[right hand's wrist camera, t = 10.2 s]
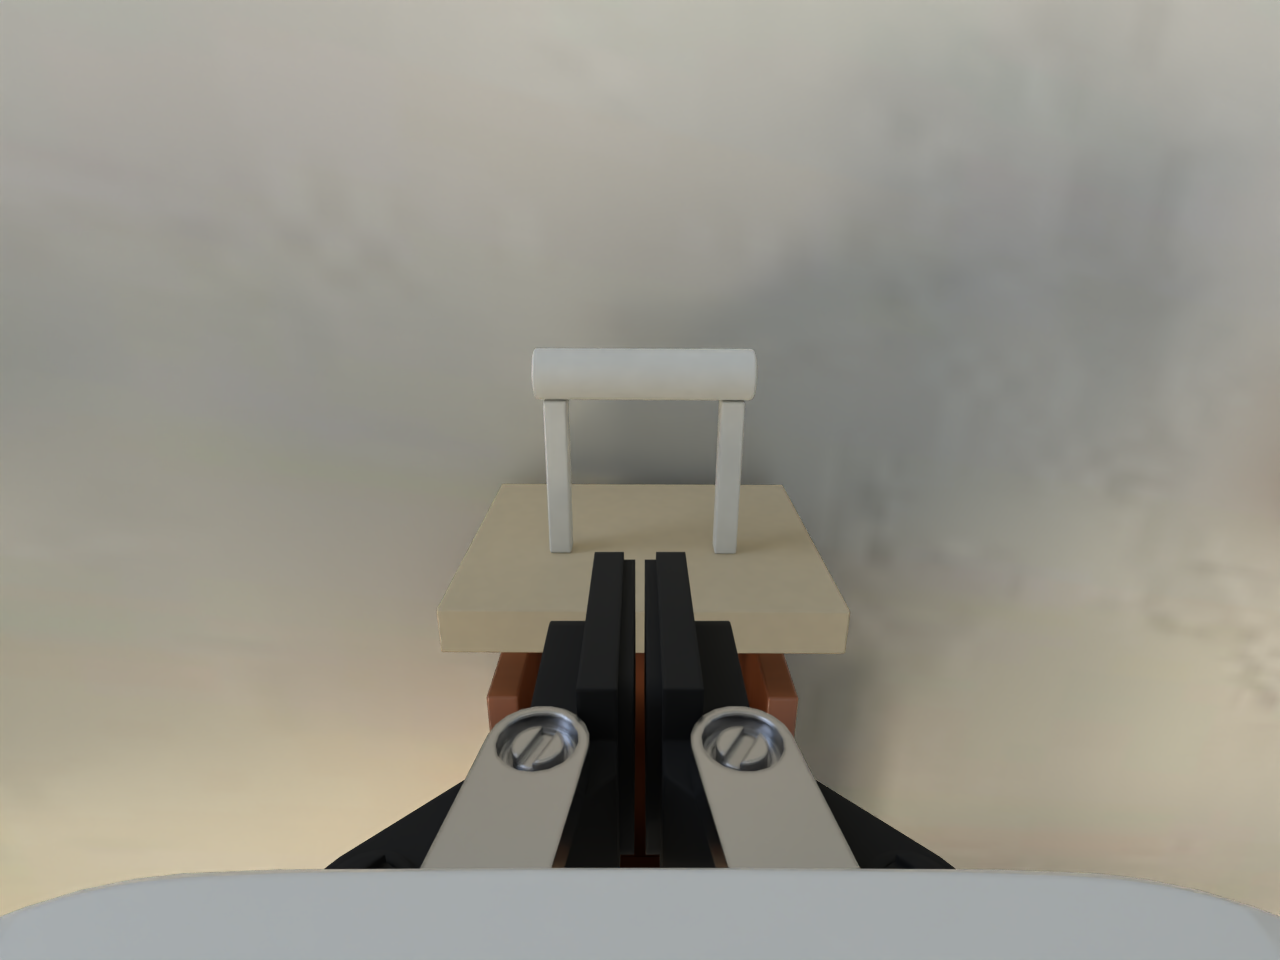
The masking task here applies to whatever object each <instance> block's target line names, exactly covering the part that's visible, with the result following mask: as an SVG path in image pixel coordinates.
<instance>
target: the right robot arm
mask: <svg viewBox="0 0 1280 960" xmlns="http://www.w3.org/2000/svg"><path fill="white" fill-rule="evenodd" d="M635 715H636V614H635V559H624V552H595V553H594V560H593V568H592V575H591V583H590V590H589V597H588V605H587V612H586V619H585V621H551V622H550V623H549V627H548V631H547V635H546V640H545V644H544V649H543V653H542V658H541V662H540V667H539V671H538V675H537V680H536V684H535V689H534V693H533V698H532V702H531V707H530V708H526V709H521V710H519V711H517V712H514V713H512V714H510V715H508V716H506V717H505V718H503V719H502V720H501V721H499V722H498V723H497V724H495V726H494V727H493V728H492V730H491V731H490V733H489V734H488V735H487V737H486V739H485V741H484V743H483V745H482V747H481V749H480V751H479V753H478V755H477V757H476V759H475V761H474V763H473V765H472V767H471V769H470V771H469V773H468V775H467V777H466V779H465V780H464V781H462V782H460V783H459V784H457V785H456V786H454V787H452V788H451V789H449V790H447V791H446V792H444V793H443V794H441V795H439V796H438V797H436V798H434V799H433V800H431V801H430V802H428V803H426V804H425V805H423V806H422V807H420V808H418V809H417V810H415V811H413V812H412V813H410V814H409V815H407V816H405V817H404V818H402V819H401V820H399V821H397V822H396V823H394V824H392V825H391V826H389V827H388V828H386V829H384V830H383V831H381V832H380V833H378V834H376V835H375V836H373V837H371V838H370V839H368V840H367V841H365V842H363V843H362V844H360V845H359V846H357V847H355V848H354V849H352V850H350V851H349V852H347V853H346V854H344V855H342V856H341V857H339V858H338V859H337V860H335V861H334V862H333V863H331V864H330V865H329V866H327V867H326V868H325V869H279V870H254V871H228V872H203V873H182V874H173V875H164V876H156V877H147V878H138V879H132V880H127V881H122V882H117V883H112V884H107V885H102V886H97V887H92V888H88V889H83V890H79V891H76V892H73V893H69V894H66V895H63V896H59V897H56V898H53V899H50V900H46V901H43V902H40V903H37V904H33V905H30V906H27V907H24V908H21V909H19V910H16V911H14V912H11V913H8V914H6V915H3V916H1V917H0V960H1280V917H1279V916H1277V915H1274V914H1272V913H1269V912H1266V911H1264V910H1261V909H1259V908H1256V907H1253V906H1250V905H1247V904H1243V903H1240V902H1237V901H1234V900H1230V899H1227V898H1224V897H1221V896H1217V895H1214V894H1211V893H1207V892H1204V891H1201V890H1197V889H1192V888H1188V887H1183V886H1178V885H1173V884H1168V883H1163V882H1158V881H1153V880H1148V879H1142V878H1133V877H1124V876H1116V875H1107V874H1098V873H1077V872H1051V871H1026V870H1001V869H999V870H991V869H955V868H954V867H953V866H951V865H950V864H949V863H947V862H946V861H945V860H943V859H942V858H941V857H939V856H938V855H936V854H934V853H933V852H931V851H930V850H928V849H926V848H925V847H923V846H921V845H920V844H918V843H917V842H915V841H913V840H912V839H910V838H909V837H907V836H905V835H904V834H902V833H900V832H899V831H897V830H896V829H894V828H892V827H891V826H889V825H888V824H886V823H884V822H883V821H881V820H879V819H878V818H876V817H875V816H873V815H871V814H870V813H868V812H867V811H865V810H863V809H862V808H860V807H858V806H857V805H855V804H854V803H852V802H850V801H849V800H847V799H846V798H844V797H842V796H841V795H839V794H837V793H836V792H834V791H833V790H831V789H829V788H828V787H826V786H824V785H823V784H821V783H820V782H818V781H816V780H815V779H814V777H813V775H812V773H811V771H810V769H809V767H808V765H807V763H806V761H805V759H804V757H803V755H802V753H801V751H800V749H799V747H798V745H797V743H796V741H795V739H794V737H793V735H792V734H791V733H790V731H789V730H788V728H787V727H786V726H785V724H783V723H782V722H781V721H779V720H778V719H777V718H775V717H774V716H772V715H770V714H768V713H766V712H763V711H761V710H759V709H754V708H750V707H749V702H748V698H747V693H746V689H745V684H744V680H743V675H742V671H741V667H740V662H739V658H738V653H737V649H736V644H735V640H734V635H733V631H732V627H731V623H730V622H729V621H695V619H694V612H693V605H692V597H691V590H690V583H689V575H688V568H687V560H686V553H685V552H656V559H645V614H644V715H645V825H646V855H660V868H620V855H634V825H635Z"/></svg>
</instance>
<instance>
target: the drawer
mask: <svg viewBox="0 0 1280 960" xmlns="http://www.w3.org/2000/svg"><path fill="white" fill-rule="evenodd" d="M531 376H532V388H533V393H534V396H535V398H536V399H545V400H544V402H543V415H544V436H545V458H546V479H547V484H502V485H501V487H500V489H499V491H498V493H497V495H496V497H495V499H494V501H493V503H492V505H491V506H490V508H489V510H488V512H487V514H486V516H485V518H484V520H483V522H482V524H481V526H480V528H479V529H478V531H477V533H476V535H475V537H474V539H473V541H472V543H471V545H470V547H469V549H468V551H467V552H466V554H465V556H464V558H463V560H462V562H461V564H460V566H459V568H458V570H457V572H456V574H455V576H454V577H453V579H452V581H451V583H450V585H449V587H448V589H447V591H446V593H445V595H444V597H443V599H442V600H441V602H440V604H439V606H438V608H437V620H438V628H439V637H440V645H441V651H442V652H501V654H500V658H499V661H498V664H497V667H496V670H495V673H494V676H493V679H492V682H491V686H490V689H489V692H488V695H487V705H488V716H489V727H490V731H491V730H492V728H493V727H494V726H495V724H497V723H498V722H499V721H501V720H502V719H503V718H505V717H506V716H508V715H510V714H512V713H514V712H517V711H519V710H521V709H526V708H530V707H531V702H532V698H533V693H534V689H535V684H536V680H537V675H538V671H539V667H540V662H541V658H542V653H543V649H544V644H545V640H546V635H547V631H548V627H549V623H550V622H551V621H585V619H586V612H587V605H588V597H589V590H590V583H591V575H592V568H593V560H594V553H595V552H624V559H635V614H636V715H635V825H634V855H620V868H660V855H646V825H645V715H644V614H645V559H656V552H685V553H686V560H687V568H688V575H689V583H690V590H691V597H692V605H693V612H694V619H695V621H729V622H730V623H731V627H732V631H733V635H734V640H735V644H736V649H737V653H738V658H739V662H740V667H741V671H742V675H743V680H744V684H745V689H746V693H747V698H748V702H749V707H750V708H754V709H759V710H761V711H763V712H766V713H768V714H770V715H772V716H774V717H775V718H777V719H778V720H779V721H781V722H782V723H783V724H785V726H786V727H787V728H788V730H789V731H790V733H791V734H792V735H793V737H794V735H795V726H796V716H797V707H798V696H797V693H796V690H795V687H794V684H793V681H792V678H791V675H790V672H789V669H788V666H787V663H786V660H785V657H784V654H783V653H802V654H843V653H845V649H846V642H847V634H848V626H849V619H850V610H849V608H848V606H847V605H846V603H845V601H844V599H843V597H842V595H841V593H840V592H839V590H838V588H837V586H836V584H835V582H834V580H833V579H832V577H831V575H830V573H829V571H828V569H827V567H826V565H825V564H824V562H823V560H822V558H821V556H820V554H819V552H818V551H817V549H816V547H815V545H814V543H813V541H812V539H811V538H810V536H809V534H808V532H807V530H806V528H805V526H804V524H803V523H802V521H801V519H800V517H799V515H798V513H797V511H796V510H795V508H794V506H793V504H792V502H791V500H790V498H789V497H788V495H787V493H786V491H785V489H784V487H783V486H782V485H740V482H741V465H742V449H743V433H744V416H745V402H744V401H743V400H752V399H753V398H754V395H755V391H756V385H757V358H756V354H755V351H754V350H753V349H665V348H536V349H534V352H533V356H532V366H531ZM569 400H719V417H718V439H717V460H716V481H715V485H660V484H571V460H570V429H569Z"/></svg>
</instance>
